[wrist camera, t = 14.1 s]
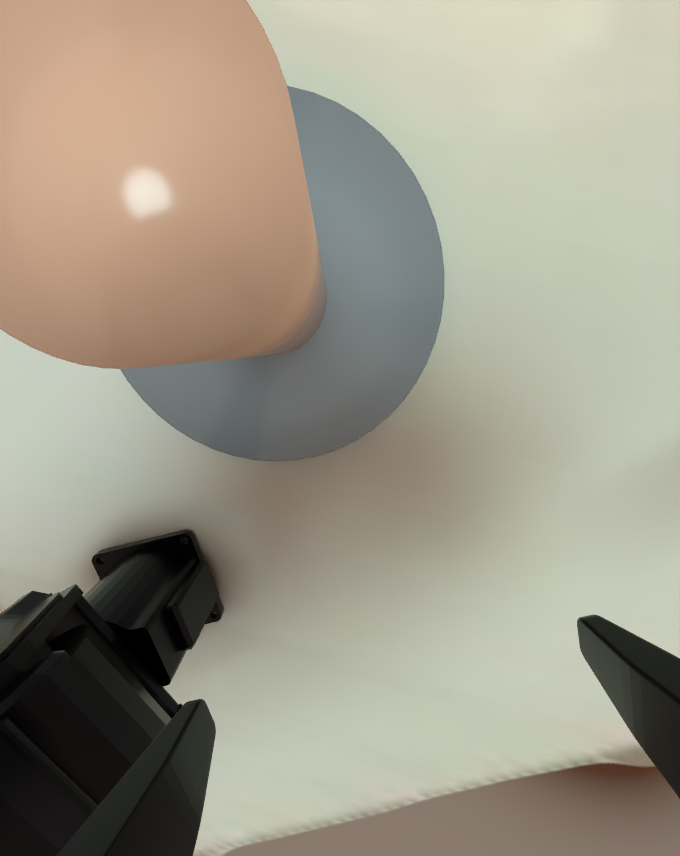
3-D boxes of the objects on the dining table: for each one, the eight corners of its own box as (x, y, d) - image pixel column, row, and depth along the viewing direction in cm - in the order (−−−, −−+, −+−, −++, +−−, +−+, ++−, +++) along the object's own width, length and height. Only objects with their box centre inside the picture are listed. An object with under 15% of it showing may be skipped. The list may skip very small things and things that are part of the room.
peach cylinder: (209, 349, 18) (-85, 350, 6) (210, 224, 17) (-170, -145, 4) (321, 360, 18) (286, 385, 6) (331, 237, 17) (314, -82, 4)
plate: (173, 488, 21) (167, 493, 20) (42, 156, 17) (28, 147, 16) (466, 414, 20) (471, 417, 19) (400, 46, 16) (403, 30, 15)
